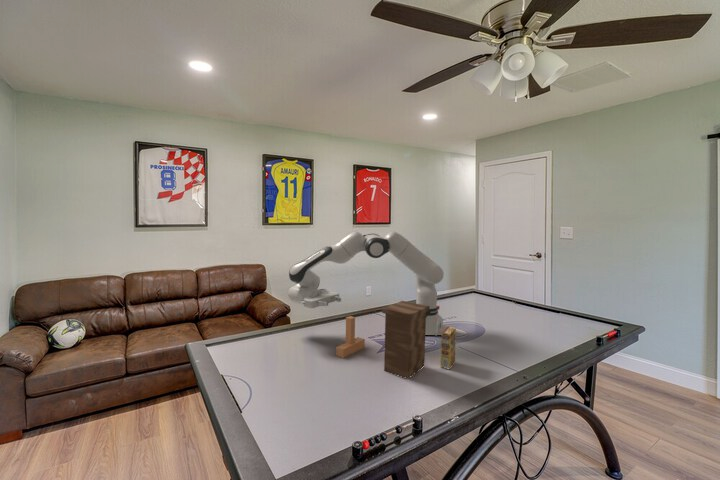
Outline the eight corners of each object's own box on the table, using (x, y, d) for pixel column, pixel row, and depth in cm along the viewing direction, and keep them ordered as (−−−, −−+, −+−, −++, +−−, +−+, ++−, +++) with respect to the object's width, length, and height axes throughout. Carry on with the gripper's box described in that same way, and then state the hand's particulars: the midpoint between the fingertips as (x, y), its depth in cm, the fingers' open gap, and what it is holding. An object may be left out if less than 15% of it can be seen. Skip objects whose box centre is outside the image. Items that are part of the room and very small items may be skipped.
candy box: (449, 370, 138) (451, 333, 137) (439, 367, 140) (441, 332, 139) (455, 362, 146) (456, 327, 145) (445, 360, 148) (446, 326, 147)
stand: (400, 358, 149) (402, 300, 147) (427, 366, 141) (429, 305, 139) (380, 371, 136) (382, 308, 134) (409, 381, 128) (410, 314, 127)
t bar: (358, 312, 162) (365, 314, 160) (357, 345, 163) (364, 347, 161) (336, 320, 150) (343, 322, 147) (336, 355, 151) (343, 358, 148)
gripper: (297, 295, 161) (318, 300, 152) (326, 288, 177) (347, 291, 169) (298, 308, 161) (318, 313, 153) (327, 299, 178) (347, 304, 169)
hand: (334, 302), depth 161 cm, fingers open, 8 cm apart
